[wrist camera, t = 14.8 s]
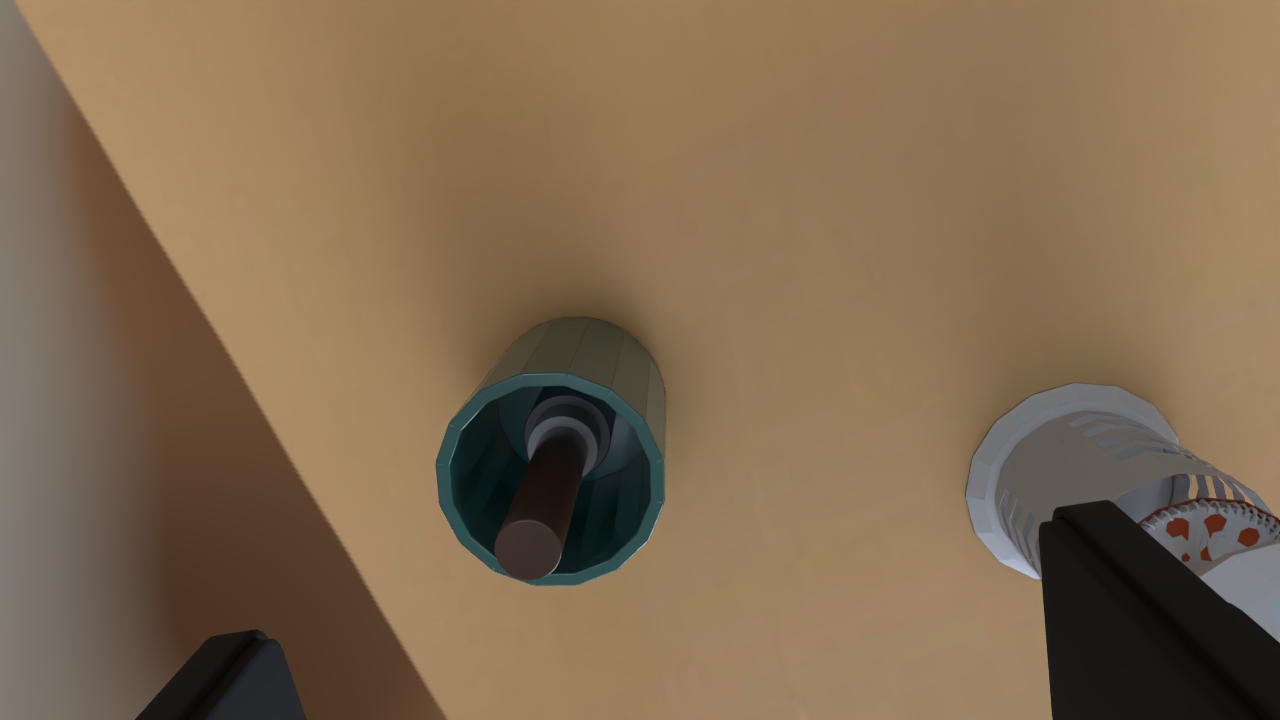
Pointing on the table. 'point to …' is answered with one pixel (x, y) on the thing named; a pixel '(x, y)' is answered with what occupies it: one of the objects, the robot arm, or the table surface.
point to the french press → (1121, 491)
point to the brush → (552, 478)
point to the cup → (497, 458)
